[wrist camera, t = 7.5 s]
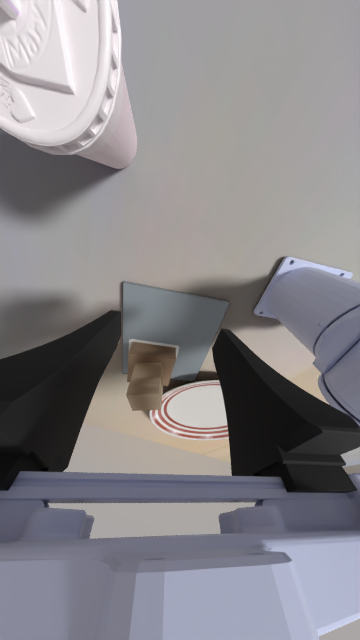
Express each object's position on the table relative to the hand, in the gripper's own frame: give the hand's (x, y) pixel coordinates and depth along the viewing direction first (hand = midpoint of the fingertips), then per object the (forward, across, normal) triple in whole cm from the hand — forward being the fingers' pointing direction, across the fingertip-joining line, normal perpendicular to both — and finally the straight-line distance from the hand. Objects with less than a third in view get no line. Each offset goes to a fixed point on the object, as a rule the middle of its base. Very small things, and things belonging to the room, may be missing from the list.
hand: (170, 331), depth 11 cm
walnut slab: (+9, +1, +14) cm, 17 cm away
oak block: (+7, +1, +14) cm, 15 cm away
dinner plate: (+10, -14, +28) cm, 33 cm away
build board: (+10, -1, +10) cm, 14 cm away
